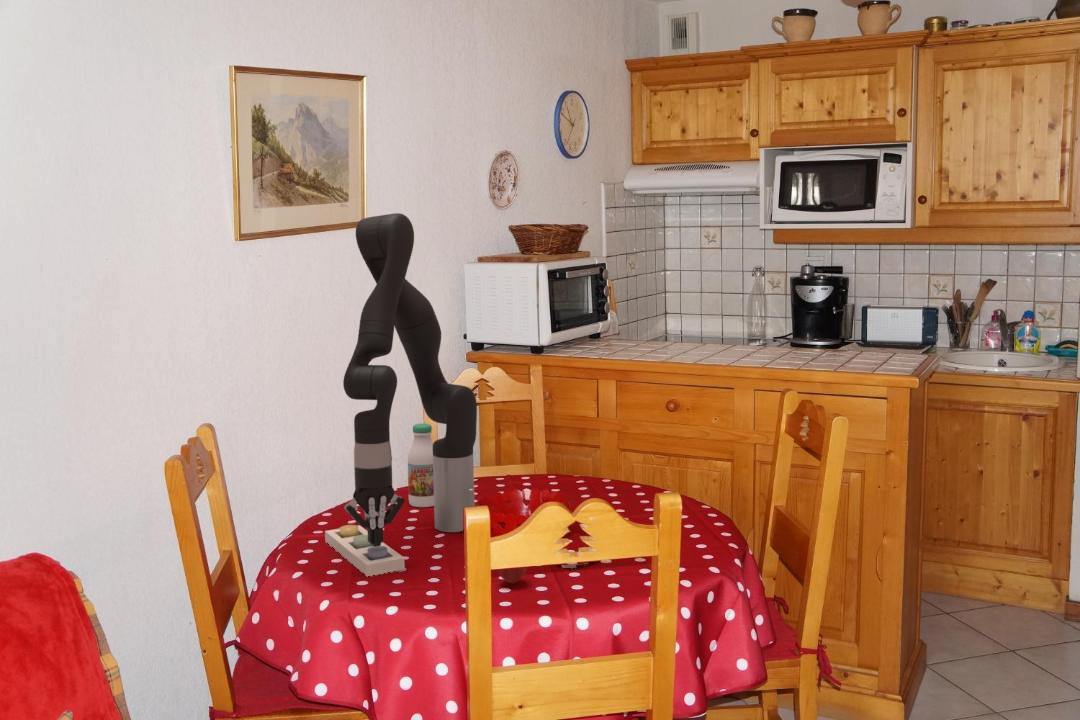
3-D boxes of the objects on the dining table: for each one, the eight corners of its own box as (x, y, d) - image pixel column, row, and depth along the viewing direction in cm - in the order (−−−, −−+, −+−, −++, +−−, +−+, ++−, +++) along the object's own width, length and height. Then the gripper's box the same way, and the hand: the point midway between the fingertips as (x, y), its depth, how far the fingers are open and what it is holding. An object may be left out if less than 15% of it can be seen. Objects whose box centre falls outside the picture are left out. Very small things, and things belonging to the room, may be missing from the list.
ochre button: (354, 532, 232) (354, 523, 232) (361, 537, 229) (360, 528, 229) (337, 535, 230) (337, 526, 230) (343, 540, 227) (343, 531, 227)
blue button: (383, 553, 218) (382, 544, 217) (390, 559, 214) (390, 550, 214) (364, 557, 216) (364, 548, 215) (372, 562, 212) (371, 553, 212)
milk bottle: (406, 501, 263) (403, 423, 260) (436, 498, 265) (434, 420, 263) (412, 509, 256) (409, 429, 253) (443, 506, 258) (440, 426, 255)
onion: (523, 590, 201) (522, 550, 200) (494, 588, 202) (493, 548, 201) (529, 579, 207) (529, 540, 206) (501, 577, 208) (500, 539, 207)
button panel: (359, 535, 236) (359, 525, 235) (404, 569, 213) (404, 557, 213) (325, 542, 232) (324, 531, 231) (367, 576, 209) (366, 564, 209)
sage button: (368, 542, 225) (368, 533, 225) (375, 548, 222) (375, 538, 221) (350, 546, 223) (350, 537, 223) (357, 551, 220) (357, 542, 219)
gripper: (396, 455, 219) (398, 535, 221) (335, 462, 212) (338, 545, 215) (410, 462, 212) (412, 544, 215) (347, 470, 206) (350, 555, 208)
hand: (375, 545), depth 215 cm, fingers closed
